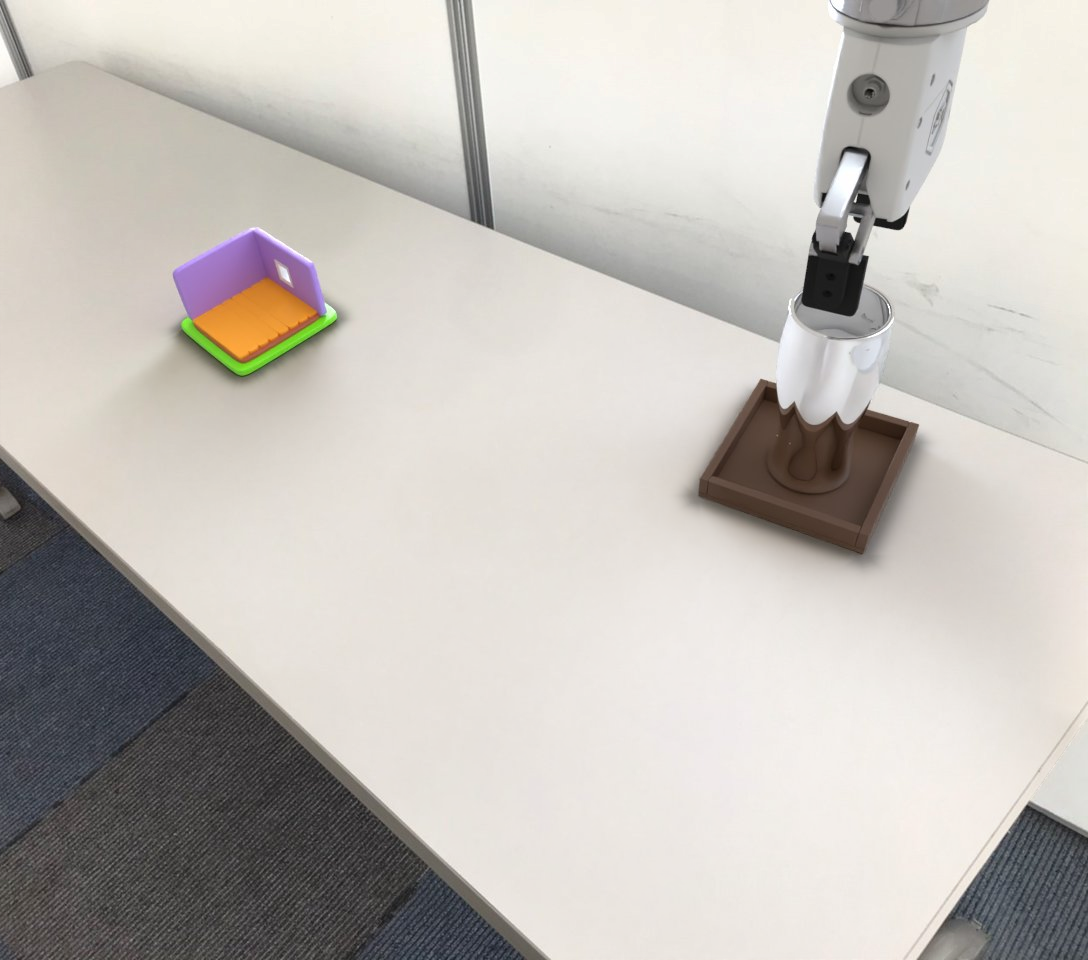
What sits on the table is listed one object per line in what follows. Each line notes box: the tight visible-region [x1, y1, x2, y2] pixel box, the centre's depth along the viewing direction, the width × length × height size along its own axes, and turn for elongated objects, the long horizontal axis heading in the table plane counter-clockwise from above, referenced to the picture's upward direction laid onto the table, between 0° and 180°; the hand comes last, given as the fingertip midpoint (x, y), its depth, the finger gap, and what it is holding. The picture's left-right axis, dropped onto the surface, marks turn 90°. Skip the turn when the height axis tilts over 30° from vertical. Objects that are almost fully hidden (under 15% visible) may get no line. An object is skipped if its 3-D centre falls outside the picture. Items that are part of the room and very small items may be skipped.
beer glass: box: [767, 282, 896, 494], centre depth 69 cm, size 7×7×15 cm
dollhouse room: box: [172, 227, 338, 377], centre depth 94 cm, size 12×12×7 cm
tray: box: [697, 378, 920, 555], centre depth 74 cm, size 12×12×2 cm
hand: (854, 264), depth 61 cm, fingers open, 9 cm apart
